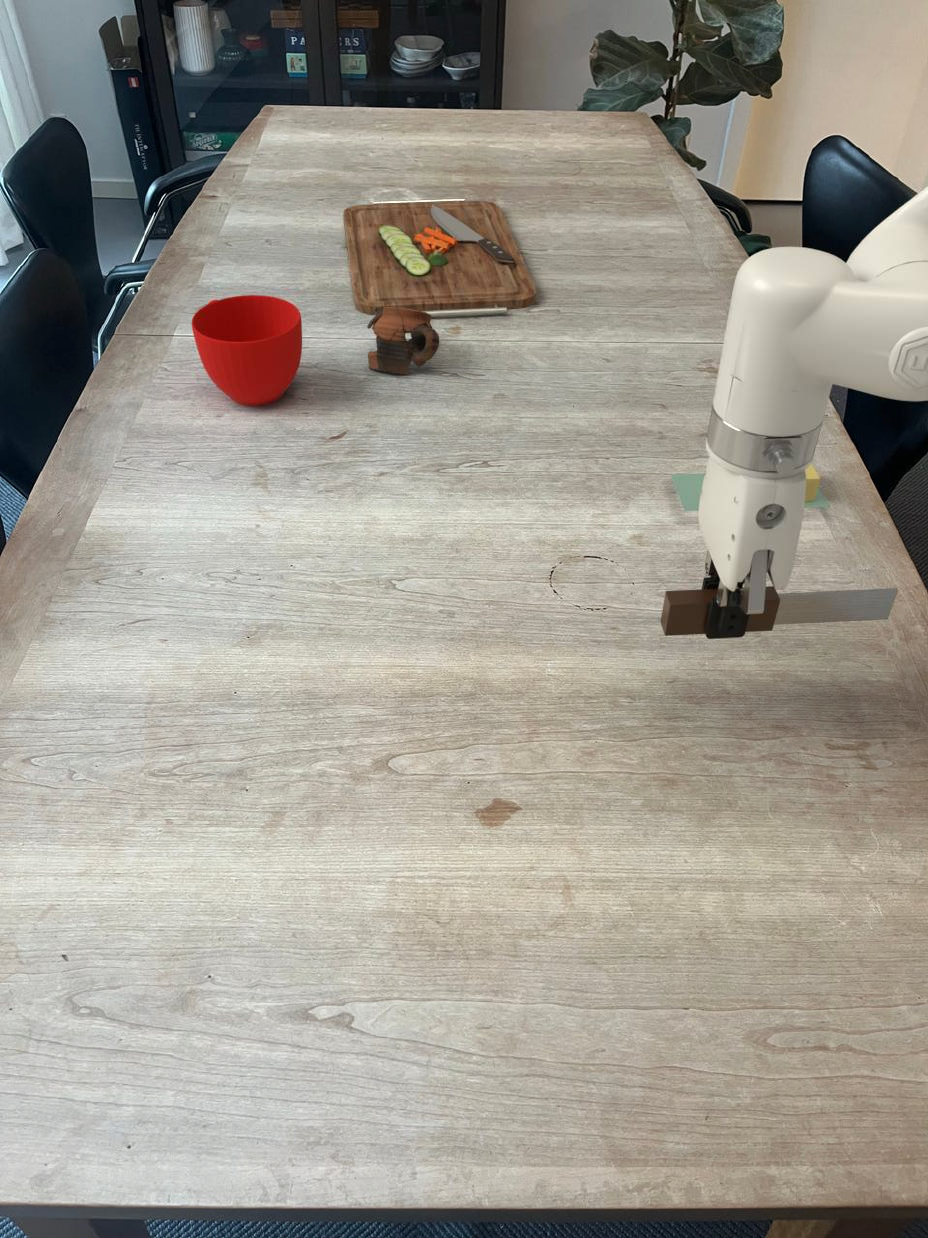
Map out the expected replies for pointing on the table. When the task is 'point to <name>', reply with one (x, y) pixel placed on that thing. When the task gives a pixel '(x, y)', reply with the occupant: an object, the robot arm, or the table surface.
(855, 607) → the knife
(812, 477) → the butter block
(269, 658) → the table surface
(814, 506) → the butter dish
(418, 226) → the chopping board
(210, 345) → the ceramic cup
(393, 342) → the pottery mug
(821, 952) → the table surface
